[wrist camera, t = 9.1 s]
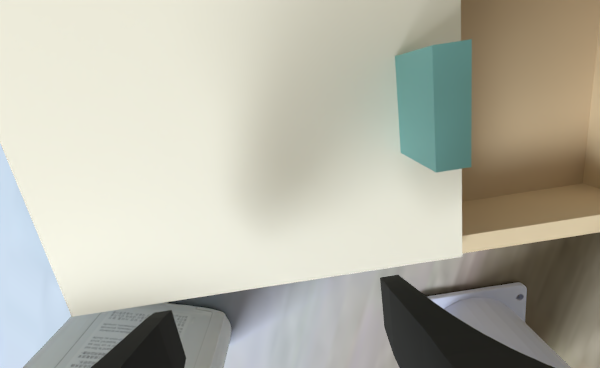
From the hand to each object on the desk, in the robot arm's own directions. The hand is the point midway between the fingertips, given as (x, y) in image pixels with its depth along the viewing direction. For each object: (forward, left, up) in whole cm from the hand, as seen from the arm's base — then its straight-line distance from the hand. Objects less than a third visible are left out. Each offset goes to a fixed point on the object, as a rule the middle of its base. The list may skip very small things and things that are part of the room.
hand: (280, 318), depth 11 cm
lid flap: (+6, +1, -5) cm, 8 cm away
